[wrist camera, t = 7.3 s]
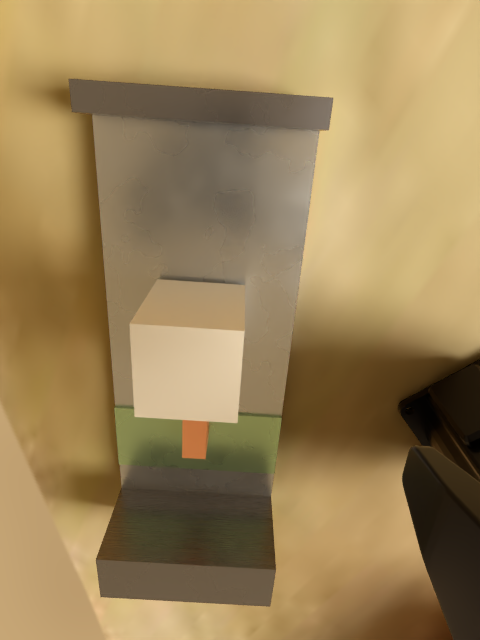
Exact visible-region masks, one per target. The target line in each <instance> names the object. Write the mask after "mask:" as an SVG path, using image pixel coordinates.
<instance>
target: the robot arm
mask: <svg viewBox="0 0 480 640" xmlns="http://www.w3.org/2000/svg"><path fill="white" fill-rule="evenodd" d="M409 407H411V409H409V410H406V409H407V408H409ZM398 410H399V412H400V414H401V416H402V417H403V418H404V420H405V421H406V423H407V424H408V426H409V427H410V428H411V430H412V431H413V433H414V434H415V436H416V437H417V438H418V440H419V441H420V443H421V444H422V446H412V447H411V448H410V450H409V453H408V456H407V460H406V464H405V467H404V471H403V476H402V482H403V487H404V491H405V495H406V499H407V502H408V506H409V510H410V514H411V517H412V521H413V525H414V529H415V532H416V536H417V540H418V544H419V547H420V551H421V554H422V558H423V560H424V563H425V566H426V569H427V572H428V574H429V577H430V580H431V582H432V585H433V588H434V590H435V593H436V595H437V598H438V601H439V603H440V606H441V609H442V611H443V614H444V617H445V619H446V622H447V625H448V627H449V630H450V632H451V635H452V638H453V640H480V360H479V361H477V362H475V363H473V364H471V365H469V366H467V367H465V368H463V369H462V370H460V371H458V372H456V373H454V374H452V375H450V376H448V377H446V378H445V379H443V380H441V381H439V382H437V383H435V384H433V385H431V386H429V387H428V388H426V389H424V390H422V391H420V392H418V393H416V394H414V395H413V396H411V397H409V398H407V399H405V400H403V401H402V402H400V404H399V405H398Z"/></svg>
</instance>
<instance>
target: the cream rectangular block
mask: <svg viewBox="0 0 480 640" xmlns="http://www.w3.org/2000/svg"><path fill="white" fill-rule="evenodd" d="M129 325H130V343H131V361H132V380H133V398H134V416H135V417H144V418H160V419H176V420H182V458H193V459H206V452H207V444H208V433H209V422H225V423H238V410H239V397H240V384H241V371H242V358H243V345H244V332H245V285H238V284H223V283H208V282H193V281H177V280H162V279H157V281H156V282H155V284H154V286H153V287H152V289H151V290H150V292H149V293H148V295H147V297H146V298H145V300H144V301H143V303H142V305H141V306H140V308H139V309H138V311H137V312H136V314H135V316H134V317H133V319H132V320H131V322H130V324H129Z"/></svg>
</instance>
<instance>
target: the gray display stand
mask: <svg viewBox="0 0 480 640" xmlns="http://www.w3.org/2000/svg"><path fill="white" fill-rule="evenodd" d="M69 87H70V97H71V107H72V112H76V113H83V114H89V115H92V120H93V133H94V145H95V158H96V171H97V183H98V196H99V208H100V221H101V234H102V246H103V259H104V272H105V284H106V297H107V310H108V322H109V335H110V348H111V360H112V373H113V385H114V398H115V407H114V411H115V424H116V436H117V448H118V461H119V465H120V474H121V487H122V488H121V491H120V494H119V496H118V499H117V502H116V505H115V508H114V510H113V513H112V516H111V519H110V522H109V524H108V527H107V530H106V533H105V536H104V538H103V541H102V544H101V547H100V550H99V552H98V555H97V558H96V564H97V572H98V580H99V588H100V595H101V597H109V598H127V599H145V600H163V601H181V602H199V603H216V604H234V605H252V606H270V604H271V598H272V592H273V585H274V579H275V572H276V564H275V549H274V535H273V520H272V505H271V493H272V485H273V477H274V473H275V466H276V458H277V451H278V443H279V436H280V428H281V421H282V410H283V402H284V395H285V387H286V379H287V372H288V364H289V357H290V349H291V342H292V334H293V327H294V319H295V312H296V304H297V296H298V289H299V281H300V274H301V266H302V259H303V251H304V244H305V236H306V229H307V221H308V214H309V206H310V198H311V191H312V183H313V176H314V168H315V161H316V153H317V146H318V138H319V131H326V130H329V125H330V118H331V111H332V104H333V98H329V97H315V96H301V95H287V94H273V93H260V92H246V91H232V90H218V89H204V88H190V87H176V86H163V85H149V84H135V83H121V82H107V81H93V80H79V79H69ZM157 279H162V280H177V281H193V282H208V283H223V284H238V285H245V332H244V345H243V358H242V371H241V384H240V397H239V410H238V423H225V422H209V433H208V444H207V452H206V459H193V458H182V420H176V419H160V418H144V417H135V416H134V398H133V380H132V361H131V343H130V325H129V324H130V322H131V320H132V319H133V317H134V316H135V314H136V312H137V311H138V309H139V308H140V306H141V305H142V303H143V301H144V300H145V298H146V297H147V295H148V293H149V292H150V290H151V289H152V287H153V286H154V284H155V282H156V281H157Z"/></svg>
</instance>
